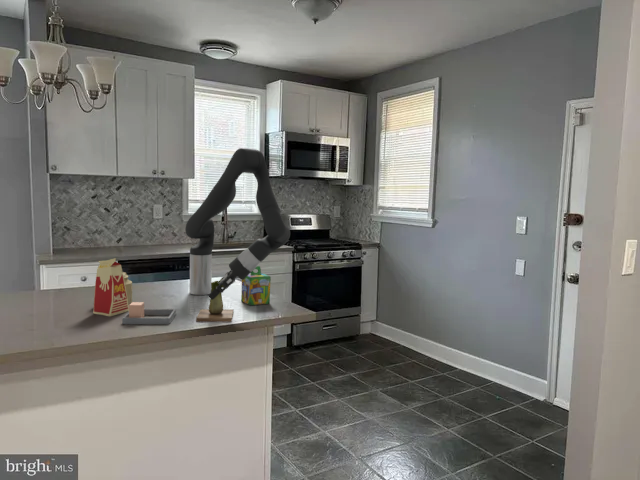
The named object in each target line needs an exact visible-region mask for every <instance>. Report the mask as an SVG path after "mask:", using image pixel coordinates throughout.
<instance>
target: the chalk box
mask: <svg viewBox="0 0 640 480" xmlns="http://www.w3.org/2000/svg"><path fill="white" fill-rule="evenodd" d="M254 270H257V272H255V271H254ZM254 270H253V271H252V272H251V273H250V274H249V275H248V276H247V277H246V278H245V279H243V280H242V279H241V297H240V298H241V302H243V303H244V304H247V305H249V306H257V305H259V306H260V305H270V302H271V278H272V277H271V276H270V275H268V274H266V273H262V271H261V270H262V268H261V266H260V265H258V266H257V267H256V268H255V269H254Z"/></svg>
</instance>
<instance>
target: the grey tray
mask: <svg viewBox="0 0 640 480" xmlns="http://www.w3.org/2000/svg"><path fill="white" fill-rule="evenodd" d="M176 315H177V309H176V308H144V316H168V317H144V318H129V311H127V313H126V314H125V315H124V316H123V317H122V318H121V321H122V325H170V324H171V323H172V321H173V320H174V318H175V317H176Z"/></svg>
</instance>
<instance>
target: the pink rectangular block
mask: <svg viewBox="0 0 640 480" xmlns="http://www.w3.org/2000/svg"><path fill="white" fill-rule="evenodd" d="M144 309H145V301H143V302H142V301H141V302H140V301H132V303H131V304H130V305H129V311H128V312H129V318H145V315H144Z"/></svg>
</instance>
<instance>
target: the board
mask: <svg viewBox="0 0 640 480" xmlns="http://www.w3.org/2000/svg"><path fill="white" fill-rule="evenodd" d="M233 316H234V309H229V308H228V309H227V308H226V309H225V308H223V311H222V313H219V314H211V313H210V312H209V308H208V309H205V308H204V309H203V308H202V309H200V310H199V312H198V313H197V316H196V319H195V322H196V323H197V322H202V323H203V322H207V323H208V322H216V323H217V322H220V323H221V322H227V323H228V322H229V323H231V322H233V321H232V320H233Z"/></svg>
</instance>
